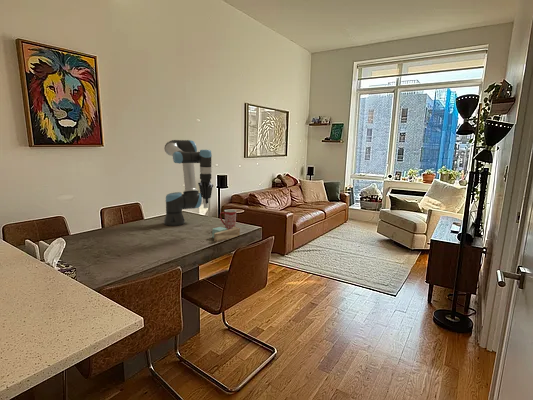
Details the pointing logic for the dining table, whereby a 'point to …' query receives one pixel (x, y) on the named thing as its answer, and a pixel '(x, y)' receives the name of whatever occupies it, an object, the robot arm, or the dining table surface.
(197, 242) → the dining table surface
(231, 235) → the stop board
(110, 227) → the dining table surface
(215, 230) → the block
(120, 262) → the dining table surface
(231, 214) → the mug
